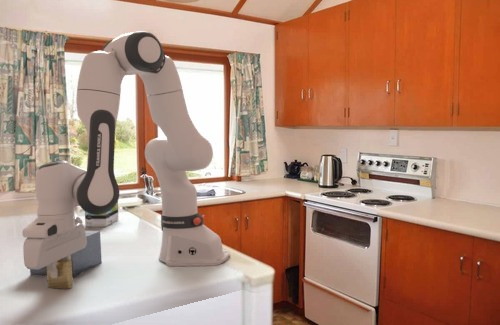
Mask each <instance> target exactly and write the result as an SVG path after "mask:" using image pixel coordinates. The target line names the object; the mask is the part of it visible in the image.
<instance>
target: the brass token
mask: <svg viewBox="0 0 500 325" xmlns="http://www.w3.org/2000/svg"><path fill="white" fill-rule="evenodd" d="M56 268H57V270H60V276H59V277H57V278H51V275H50V271H49V269H48V268H47V276H46V277H47V288H48V289H49V288H50V289H65V290H66V289H70V288H72V287H73V286H74V283H73V282H74V281H73V280H74V278H72V261H71V260H58V261H57V265H56Z"/></svg>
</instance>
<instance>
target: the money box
mask: <svg viewBox="0 0 500 325" xmlns="http://www.w3.org/2000/svg"><path fill="white" fill-rule="evenodd" d="M85 232H86V239H87V244H86V247H85V248H84V249H82V250H80V251H77V252H75V253H73V254H71V261H72V278H73V279H74V278H76V277H78V276H79V275H82V274H83V273H85V272H87V271H89V270H91V269H93V268H94V267H96V266H98V265H100V264H101V263H102V243H101V241H102V240H101V231H100V230H85ZM60 260H62V259H60ZM29 272H30V273H29V274H30V275H29V276H31V277H32V276H33V277H34V276H36V277H47V266H45V267H43V268H41V269H38V270H34V269H29Z"/></svg>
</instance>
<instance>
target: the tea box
mask: <svg viewBox="0 0 500 325" xmlns="http://www.w3.org/2000/svg"><path fill="white" fill-rule="evenodd" d="M117 221H119V201H118V202H117V203H116V205H115V206H114V207H113V208H112V209H111V210H110V211H108V212H106V213H104V214H99V215H95V214H90V213H88V212H86V211H84V227H86V228H87V227H89V228H90V227H91V228H98V227H99V228H100V227H109V225H111V224H113V223H114V222H117Z"/></svg>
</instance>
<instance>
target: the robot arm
mask: <svg viewBox="0 0 500 325" xmlns="http://www.w3.org/2000/svg"><path fill="white" fill-rule="evenodd" d="M101 48H102V49H101V50H97V51H91V52H89V53H87V54H86V55H85V56H84V58H83V61H82V63H81V66H80V70H79V75H78V79H77V80H78V81H77V87H76V97H75V98H76V101H75V102H76V112H77V117H78V119H79V120H80V122H81V123H82V125H83V126H84V128H85V131H86V134H87V139H88V140H87V143H88V144H87V156H86V157H87V162H86V169H85V168H82V167H81V166H77V165H74V164H72V163H71V162H69V161H68V160H64V159H63V160H55V161H50V162H46V163H43V164H41V165H40V166H39V167H38V168H37V170H36V173H35V183H34V185H35V199H36V201H37V206H38V207H37V211H36V218H35V219H34V220H33V221H32V222H31V223H30V224H28V225H27V226H26V227H24V228H23V229H22V237H23V238H25V239H24V242H23V251H22V252H23V264H24V266H25V267H26V269H27V270H30V269H34V270H38V269H41V268H43V267H45V266H47V268H48V269H49V271H50V275H51V278H57V277H59V276H60V270H57V268H56V265H57V261H58V260H60V259H62V260H71V254H73V253H75V252H77V251H80V250H82V249H84V248H85V247H86V244H87V239H86V232H85V231H86V229H85V224H83V219H82V218H80V217H79V216H75V214H76V213H75V208H76V207H80V208H81V209H82V210H83V211H84V212H85V211H86V212H88V213H90V214H95V215H99V214H104V213H106V212H108V211H110V210H111V209H112V208H113V207H114V206H115V205H116V203H117V202H118V203H119V197H120V187H119V185H118V182H117V179H116V177H115V171H114V170H115V168H114V167H115V148H116V147H115V145H116V144H115V143H116V140H115V139H116V128H117V127H116V126H117V122H118V115H119V110H120V102H121V90H122V87H121V86H122V82H123V79H124V77H125V76H133V75H138V76H139V77H140V79H141V81H142V83H143V86H144V91H145V95H146V100H147V101H146V102H147V104H148V109H149V114H150V117H151V120H152V122H153V123H154V124H155V125H156V126H157V127H158V128H160V130H161V131H162V133H163V134H164V135H161V136H158V137H156V138H152V139H151V140H149V141H148V142H147V144H146V145H145V149H144V158H145V160H146V162H147V164H148V165H149V166H150V167H151V168H152V169H153V171H154V173H155V176H156V178H157V181H158V184H159V188H160V193H161V194H160V195H161V196H160V197H161V212H162V214H161V216H160V219H161V220H160V228H161V231H162V238H161V247H160V251H159V255H158V260H159V261H160V262H161V263H162V262H163V263H165V265H166V266H168V267H182V266H183V267H186V266H187V267H188V266H189V267H191V266H193V267H195V266H196V267H197V266H200V267H201V266H202V267H203V266H218V265H220V264H223V263H224V262H226V261H227V260H228V259H229V257H230V251H229V250H228V249H224V248H223V244H222V239H221V237H220V235H218V234H217V233H216V232H214V231H213V230H212V229H210V228H209V227H207V225H205V224H204V219H205V214H203V215H202V214H201V213H199V212H198V195H197V193H198V192H197V188H196V186H195V185H194V184H193V183H192V182H191V181H190V179H189V177H188V175H187V172H196V171H200V170H204V169H207V168H208V167H209V166H210V165H211V162H212V160H213V156H214V151H213V147H212V144H211V143H210V142H209V140H208V139H206V138H205V137H204V136H203V135H201V133H200V131H199V130H198V129H197V128H196V126H195V125H194V123H193V121H192V118H191V117H190V114H189V111H188V109H187V103H186V99H185V95H184V91H183V85H182V82H181V79H180V75H179V72H178V70H177V67H176V64H175V61H174V60H173V59H172V58H171V57H170V56H167V55H166V52H165V50H164V48H163V45H162V43H161V41H159V39H158V38H157V36H156V35H155V34H153V33H151V32H149V31H144V30H143V31H141V30H140V31H139V30H137V31H133V32H130V33H129V32H128V33H125V34H121V35H119V36H118V37H116V38H113V39H110V40H109V41H107V42H106V43H105V44H104V46H103V47H101Z"/></svg>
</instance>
